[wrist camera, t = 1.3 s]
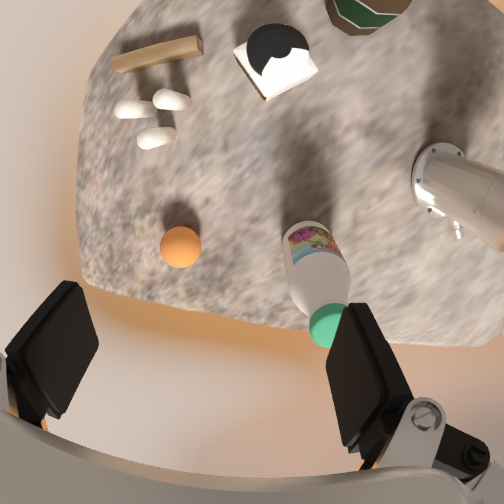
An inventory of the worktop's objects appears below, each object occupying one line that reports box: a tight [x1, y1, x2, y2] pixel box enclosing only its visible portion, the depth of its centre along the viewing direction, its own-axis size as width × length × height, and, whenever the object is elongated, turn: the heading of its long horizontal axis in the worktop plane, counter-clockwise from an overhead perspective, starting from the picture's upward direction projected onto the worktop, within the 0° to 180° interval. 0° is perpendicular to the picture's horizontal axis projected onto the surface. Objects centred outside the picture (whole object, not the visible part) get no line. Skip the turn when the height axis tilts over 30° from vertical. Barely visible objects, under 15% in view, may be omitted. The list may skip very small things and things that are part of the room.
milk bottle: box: [282, 221, 352, 347], centre depth 34 cm, size 8×8×20 cm
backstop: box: [111, 35, 204, 74], centre depth 29 cm, size 2×12×4 cm, turn 95°
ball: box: [160, 226, 201, 268], centre depth 40 cm, size 6×6×6 cm
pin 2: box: [153, 89, 191, 111], centre depth 30 cm, size 2×2×8 cm
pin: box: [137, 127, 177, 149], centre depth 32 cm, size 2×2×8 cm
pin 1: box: [114, 99, 157, 118], centre depth 31 cm, size 2×2×8 cm
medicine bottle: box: [233, 24, 318, 101], centre depth 26 cm, size 7×7×12 cm
